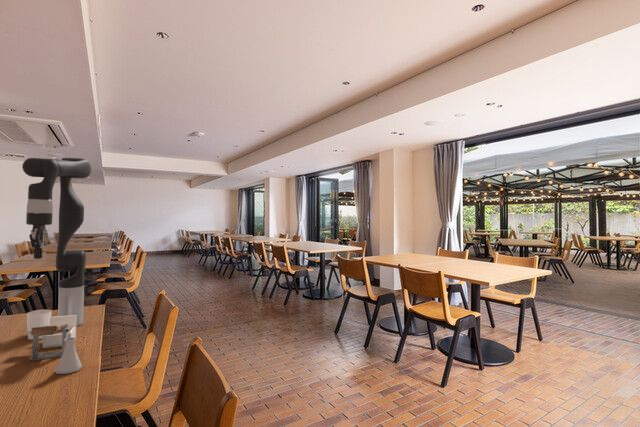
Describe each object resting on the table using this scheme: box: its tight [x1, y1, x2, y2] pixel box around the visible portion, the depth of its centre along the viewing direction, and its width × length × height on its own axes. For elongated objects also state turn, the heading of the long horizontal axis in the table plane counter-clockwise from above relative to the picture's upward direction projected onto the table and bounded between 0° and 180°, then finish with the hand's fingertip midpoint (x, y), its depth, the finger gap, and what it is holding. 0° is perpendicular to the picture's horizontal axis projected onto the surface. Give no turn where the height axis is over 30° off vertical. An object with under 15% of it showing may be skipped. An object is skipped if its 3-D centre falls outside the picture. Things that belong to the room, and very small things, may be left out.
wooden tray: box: [24, 324, 68, 337], centre depth 121 cm, size 18×12×3 cm, turn 26°
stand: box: [28, 326, 69, 362], centre depth 122 cm, size 5×11×10 cm, turn 115°
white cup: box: [26, 309, 53, 341], centre depth 140 cm, size 8×8×10 cm
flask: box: [54, 337, 83, 375], centre depth 112 cm, size 7×7×10 cm
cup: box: [41, 315, 77, 349], centre depth 135 cm, size 10×9×9 cm
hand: (38, 258), depth 129 cm, fingers closed
